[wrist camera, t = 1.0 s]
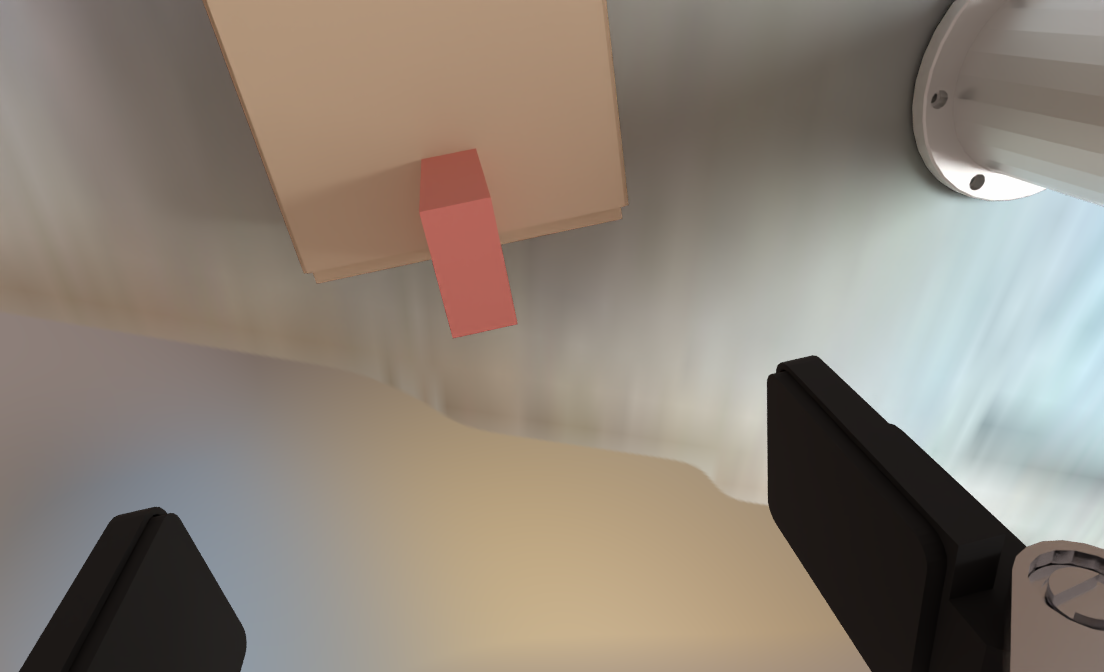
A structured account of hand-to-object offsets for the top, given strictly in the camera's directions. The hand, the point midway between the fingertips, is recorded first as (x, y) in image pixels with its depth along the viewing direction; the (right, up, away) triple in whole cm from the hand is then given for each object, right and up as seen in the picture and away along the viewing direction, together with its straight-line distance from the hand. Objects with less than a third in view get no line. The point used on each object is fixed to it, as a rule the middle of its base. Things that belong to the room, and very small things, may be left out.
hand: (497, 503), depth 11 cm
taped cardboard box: (-3, +11, +13) cm, 17 cm away
